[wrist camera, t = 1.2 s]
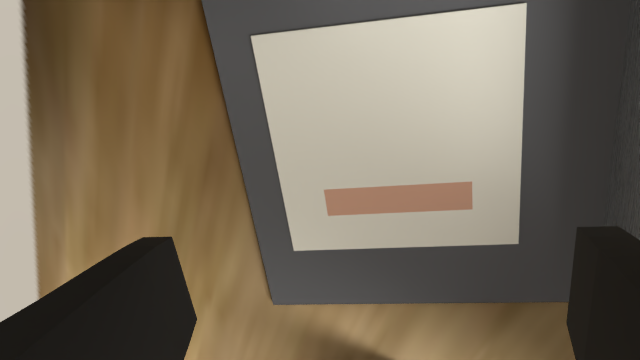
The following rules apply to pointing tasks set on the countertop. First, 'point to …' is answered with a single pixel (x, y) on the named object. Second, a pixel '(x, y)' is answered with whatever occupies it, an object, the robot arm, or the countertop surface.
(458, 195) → the arena
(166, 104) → the countertop surface
